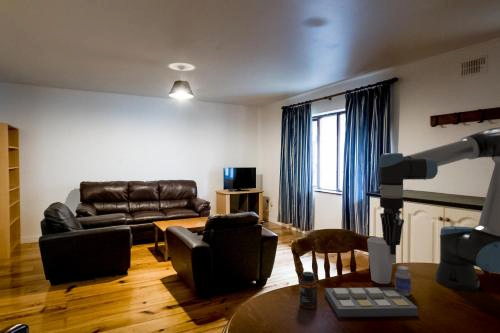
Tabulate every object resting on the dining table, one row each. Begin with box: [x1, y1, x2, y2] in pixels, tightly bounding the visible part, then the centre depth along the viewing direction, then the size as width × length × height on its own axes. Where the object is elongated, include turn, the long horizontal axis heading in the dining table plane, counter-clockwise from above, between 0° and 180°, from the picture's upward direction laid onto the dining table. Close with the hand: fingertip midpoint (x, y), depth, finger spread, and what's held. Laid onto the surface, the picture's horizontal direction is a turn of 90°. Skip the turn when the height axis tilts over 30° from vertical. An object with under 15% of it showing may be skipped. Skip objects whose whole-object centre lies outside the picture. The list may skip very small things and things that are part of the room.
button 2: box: [365, 287, 383, 298], centre depth 109 cm, size 4×4×2 cm
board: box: [324, 286, 419, 318], centre depth 107 cm, size 26×16×3 cm, turn 91°
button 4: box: [333, 287, 349, 299], centre depth 109 cm, size 4×4×2 cm
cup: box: [366, 236, 394, 285], centre depth 129 cm, size 11×10×17 cm
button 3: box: [348, 287, 366, 298], centre depth 109 cm, size 4×4×2 cm
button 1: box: [382, 290, 400, 298], centre depth 110 cm, size 4×4×2 cm
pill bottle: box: [394, 265, 412, 297], centre depth 117 cm, size 5×5×10 cm
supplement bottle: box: [299, 271, 318, 310], centre depth 107 cm, size 6×6×11 cm
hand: (391, 262), depth 109 cm, fingers closed
